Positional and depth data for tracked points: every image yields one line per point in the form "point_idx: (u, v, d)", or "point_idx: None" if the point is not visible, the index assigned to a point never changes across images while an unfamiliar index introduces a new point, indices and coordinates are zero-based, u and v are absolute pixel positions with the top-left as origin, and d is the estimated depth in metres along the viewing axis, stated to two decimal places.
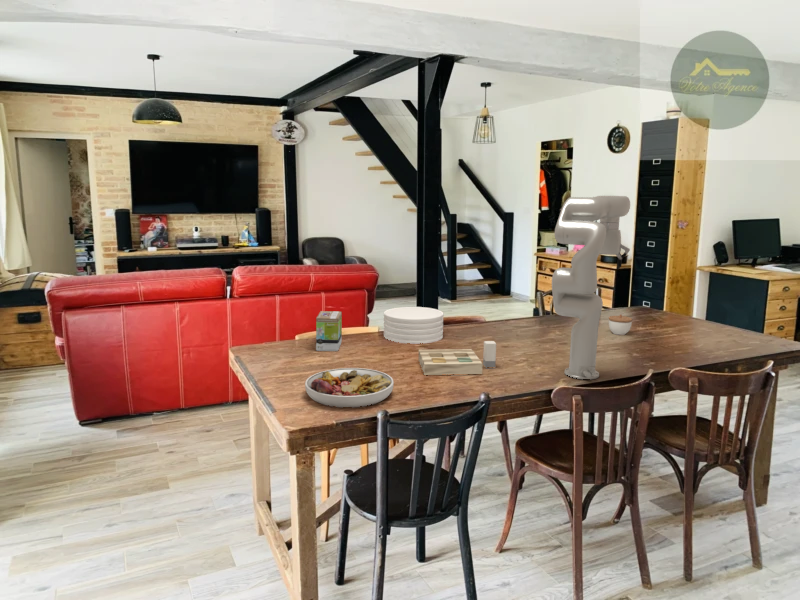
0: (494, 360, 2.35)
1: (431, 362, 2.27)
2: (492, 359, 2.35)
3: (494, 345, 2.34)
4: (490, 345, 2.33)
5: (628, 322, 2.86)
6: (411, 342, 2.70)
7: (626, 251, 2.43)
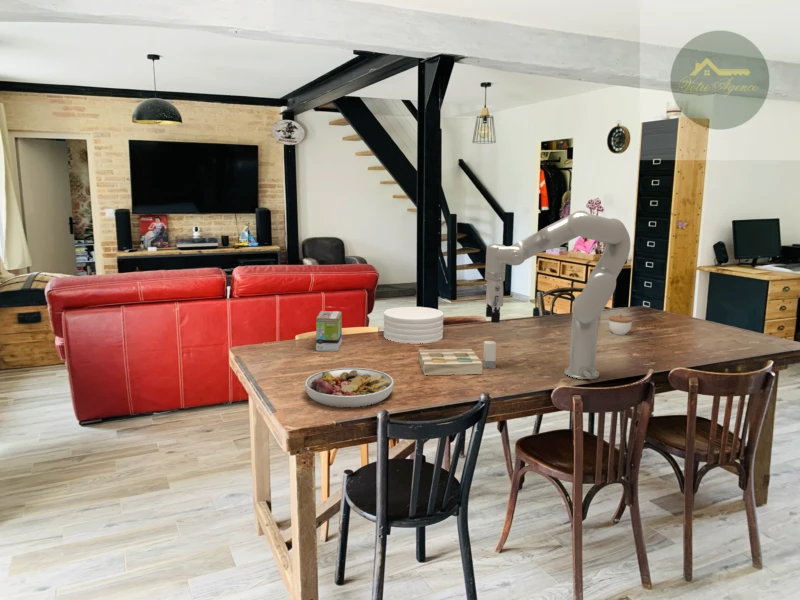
0: (494, 360, 2.35)
1: (431, 362, 2.27)
2: (492, 359, 2.35)
3: (494, 345, 2.34)
4: (490, 345, 2.33)
5: (628, 322, 2.86)
6: (411, 342, 2.70)
7: None
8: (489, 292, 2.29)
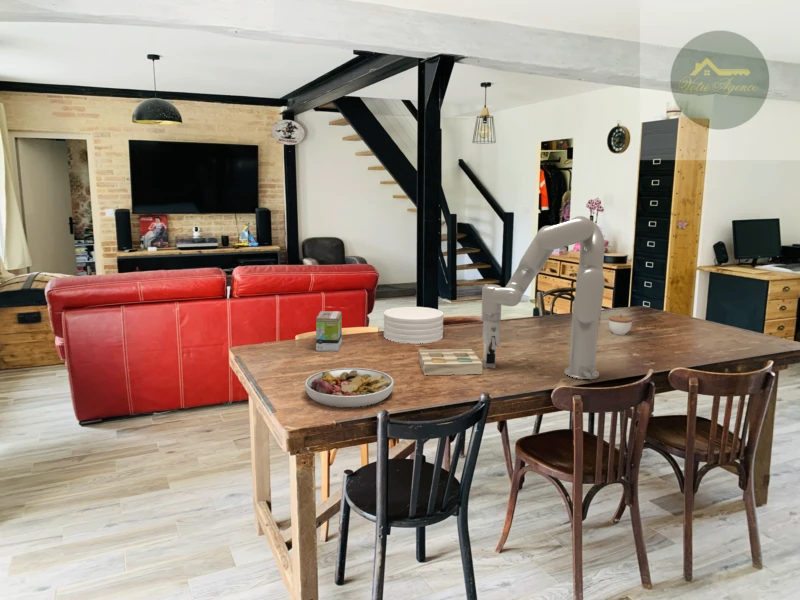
0: None
1: (431, 362, 2.27)
2: None
3: None
4: (490, 345, 2.33)
5: (628, 322, 2.86)
6: (411, 342, 2.70)
7: None
8: (486, 332, 2.32)
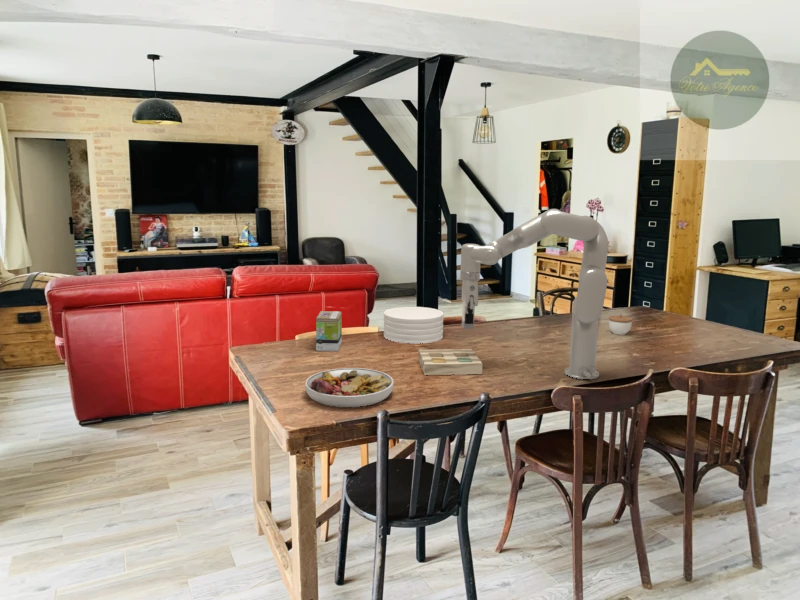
0: None
1: (431, 362, 2.27)
2: None
3: None
4: (468, 305, 2.31)
5: (628, 322, 2.86)
6: (411, 342, 2.70)
7: None
8: (464, 292, 2.30)
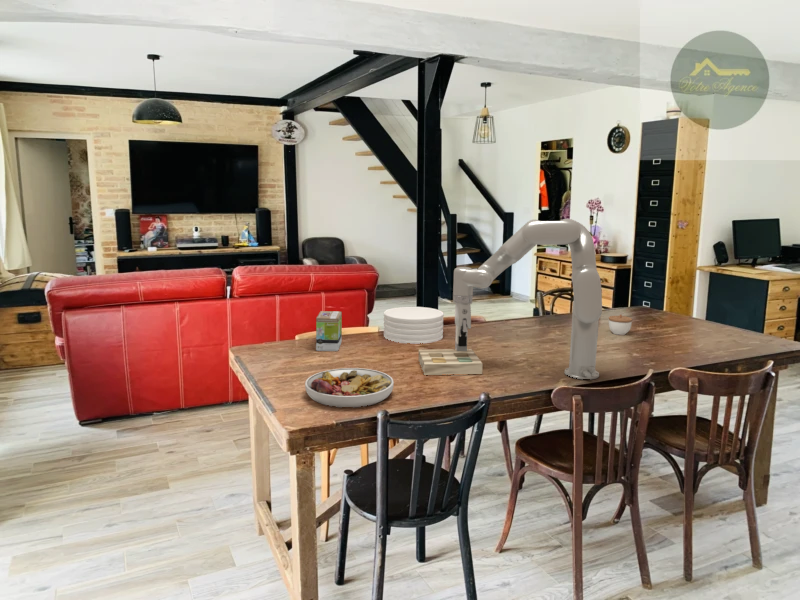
0: None
1: (431, 362, 2.27)
2: None
3: None
4: None
5: (628, 322, 2.86)
6: (411, 342, 2.70)
7: None
8: (457, 315, 2.32)
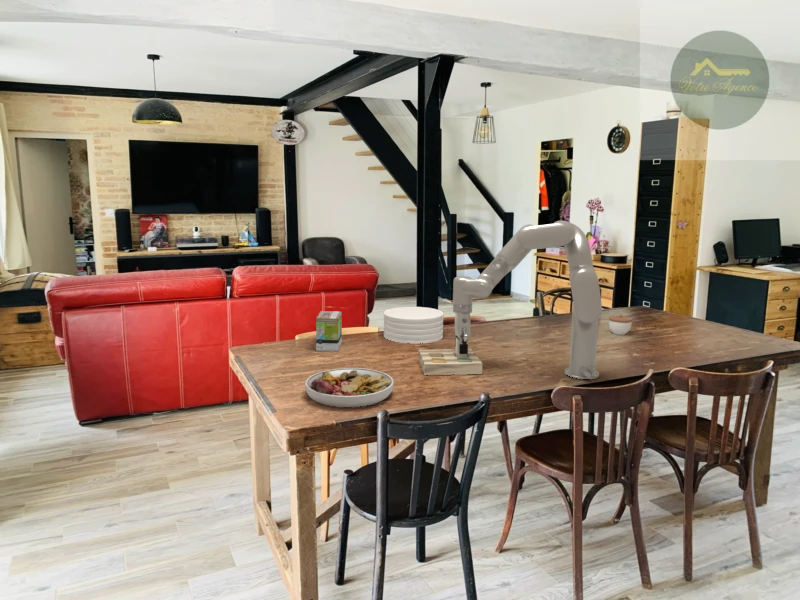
0: (466, 356, 2.36)
1: (431, 362, 2.27)
2: (464, 355, 2.35)
3: None
4: None
5: (628, 322, 2.86)
6: (411, 342, 2.70)
7: None
8: (457, 324, 2.32)
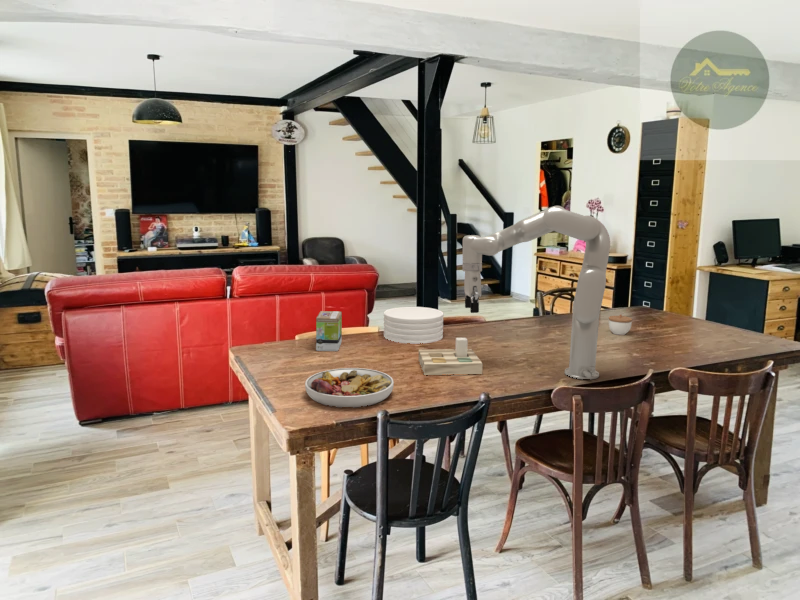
0: (466, 356, 2.36)
1: (431, 362, 2.27)
2: (464, 355, 2.35)
3: (465, 341, 2.34)
4: (461, 341, 2.34)
5: (628, 322, 2.86)
6: (411, 342, 2.70)
7: None
8: (467, 283, 2.32)
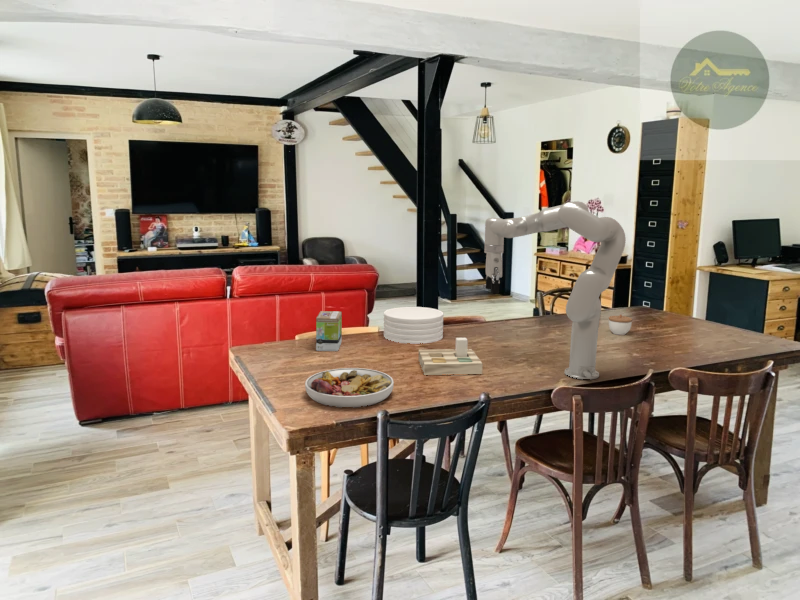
0: (466, 356, 2.36)
1: (431, 362, 2.27)
2: (464, 355, 2.35)
3: (465, 341, 2.34)
4: (461, 341, 2.34)
5: (628, 322, 2.86)
6: (411, 342, 2.70)
7: None
8: (489, 264, 2.39)
